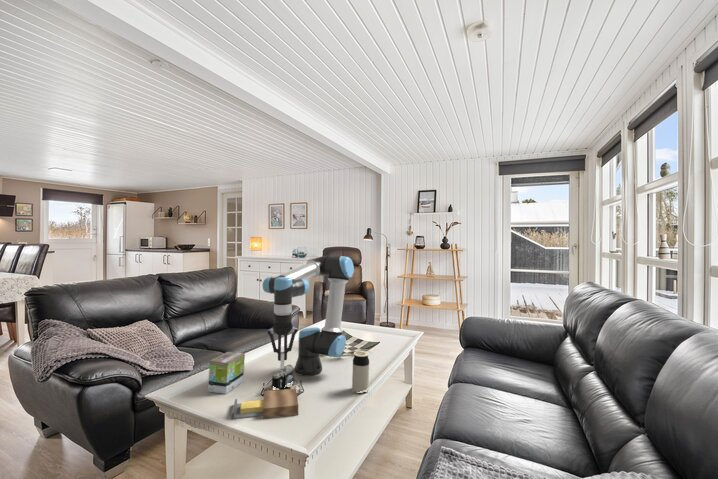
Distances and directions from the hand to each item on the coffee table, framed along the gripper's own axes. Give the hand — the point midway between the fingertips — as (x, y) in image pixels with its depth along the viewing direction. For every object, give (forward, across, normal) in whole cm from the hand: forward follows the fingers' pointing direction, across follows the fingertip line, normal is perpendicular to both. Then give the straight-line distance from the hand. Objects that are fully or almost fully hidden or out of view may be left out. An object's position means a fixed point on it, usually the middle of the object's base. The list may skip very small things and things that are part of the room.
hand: (282, 367), depth 143 cm
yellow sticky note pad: (+16, +12, +1) cm, 20 cm away
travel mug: (+18, -37, -8) cm, 42 cm away
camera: (+18, -2, -18) cm, 25 cm away
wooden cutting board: (+17, +1, +1) cm, 17 cm away
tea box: (+17, +26, -25) cm, 40 cm away
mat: (+17, +14, +1) cm, 21 cm away
